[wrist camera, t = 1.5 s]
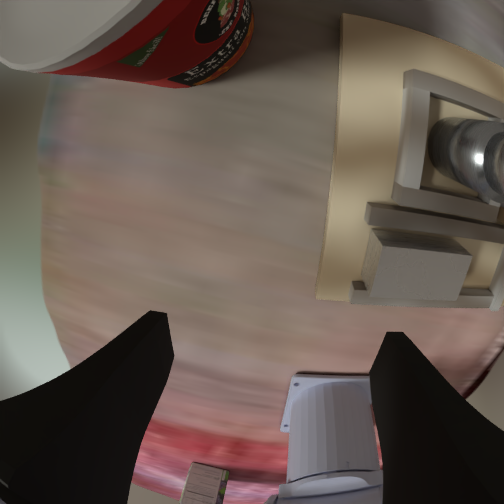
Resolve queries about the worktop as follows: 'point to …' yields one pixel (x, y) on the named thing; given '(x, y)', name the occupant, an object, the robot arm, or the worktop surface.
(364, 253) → the socket board
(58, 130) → the worktop surface
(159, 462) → the worktop surface
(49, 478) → the robot arm
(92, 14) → the canned food
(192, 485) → the syrup box
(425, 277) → the gray rectangular block
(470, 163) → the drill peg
